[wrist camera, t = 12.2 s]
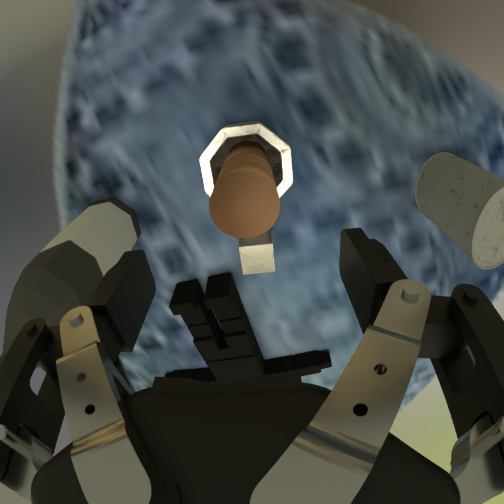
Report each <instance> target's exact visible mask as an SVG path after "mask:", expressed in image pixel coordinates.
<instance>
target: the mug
mask: <svg viewBox="0 0 504 504" xmlns="http://www.w3.org/2000/svg"><path fill="white" fill-rule="evenodd" d="M241 141H254V142H256V143H258V144H260V145H261V146H262V147H263V148H264V149H265V150H266V152H267V155H268V158H269V162H270V165H271V169H272V173H273V176H274V180H275V184H276V187H277V191H278V195H279V198H280V197H281V196H282V195H283V194H284V192H285V191H286V190H287V189H288V188H289V187H290V186H291V185H292V182H293V176H292V163H291V150H290V147H289V146H288V144H287V143H286V142H285V141H284V140H283V139H282V138H281V137H280V136H278V135H277V134H276V133H275V132H274V131H272V130H271V129H270V128H268V127H267V126H265V125H264V124H263V123H262V122H259V121H252V122H239V123H235V124H228V125H226V126H224V127H223V128H222V129H221V130H220V132H219V133H218V134H217V135H216V137H215V138H214V139H213V141H212V142H211V143H210V145H209V146H208V147H207V149H206V150H205V151H204V153H203V154H202V155H201V157H200V165H201V170H202V176H203V181H204V187H205V192H207V194H208V195H210V196H211V194H212V191H213V189H214V186H215V184H216V181H217V179H218V176H219V174H220V171H221V169H222V166H223V164H224V161H225V159H226V157H227V154H228V152H229V150H230V149H231V148H232V146H234V145H235V144H236V143H238V142H241ZM239 251H240V257H241V263H242V269H243V275H244V274H254V273H264V272H274V271H275V265H274V254H273V243H272V236H271V228H270V229H269V230H268V231H267V232H265V233H263V234H262V235H259V236H257V237H253V238H240V239H239Z"/></svg>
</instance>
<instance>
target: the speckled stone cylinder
mask: <svg viewBox="0 0 504 504" xmlns="http://www.w3.org/2000/svg"><path fill="white" fill-rule="evenodd" d="M415 198H416V203H417V205H418V208H419V209H420V211H421V212H422V213H423V214H424V215H425V216H426V217H428V218H429V219H430V220H432V221H433V222H434V223H435V224H436V225H437V226H438V227H439V228H440V229H442V230H443V231H444V232H445V233H446V234H447V235H448V236H449V237H450V238H451V239H452V240H453V241H454V242H455V243H456V244H457V245H458V246H459V247H460V248H461V249H462V250H463V251H464V252H465V253H466V254H467V255H468V256H469V257H470V258H471V259H472V260H473V261H474V263H475V264H476V265H477V266H478V267H479V268H481V269H484V270H487V269H492V268H495V267H497V266H499V265H500V264H502V263H503V262H504V180H503V179H501V178H499V177H497V176H495V175H494V174H492V173H490V172H488V171H486V170H484V169H482V168H480V167H478V166H476V165H474V164H472V163H470V162H468V161H466V160H464V159H462V158H460V157H457V156H456V155H454V154H452V153H449V152H440V153H437V154H434V155H433V156H431V157H430V158H429V159H428V160H427V161H426V162H425V163H424V164H423V166H422V167H421V169H420V171H419V173H418V176H417V178H416V184H415Z"/></svg>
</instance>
